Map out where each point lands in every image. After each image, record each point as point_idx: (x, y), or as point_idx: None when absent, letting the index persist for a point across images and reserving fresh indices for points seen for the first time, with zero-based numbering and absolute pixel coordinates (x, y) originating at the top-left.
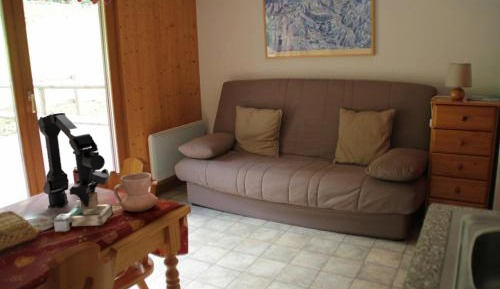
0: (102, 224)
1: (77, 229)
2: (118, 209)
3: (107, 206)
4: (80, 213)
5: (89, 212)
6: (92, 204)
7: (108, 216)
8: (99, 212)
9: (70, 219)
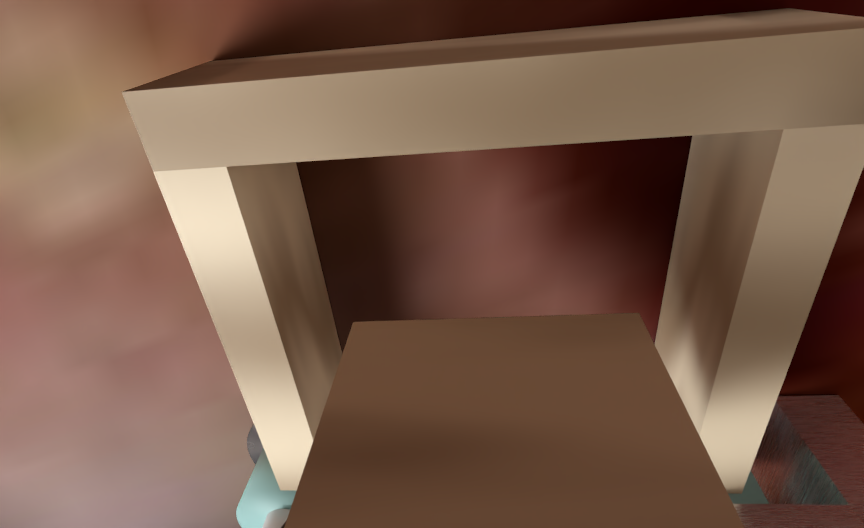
0: (775, 10)
1: (825, 314)
2: (63, 9)
3: (260, 141)
4: None
5: (335, 365)
6: (668, 407)
7: (434, 42)
8: (306, 250)
9: None
